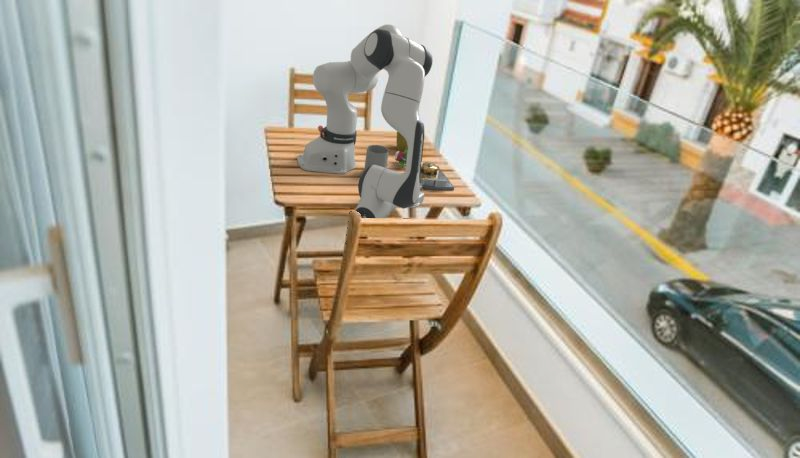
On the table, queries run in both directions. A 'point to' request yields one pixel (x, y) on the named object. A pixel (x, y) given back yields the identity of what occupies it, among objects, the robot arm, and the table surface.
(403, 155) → the geometric puzzle
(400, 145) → the flower pot
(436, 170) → the sun gear
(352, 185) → the table surface
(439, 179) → the carrier
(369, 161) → the cup
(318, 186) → the table surface
